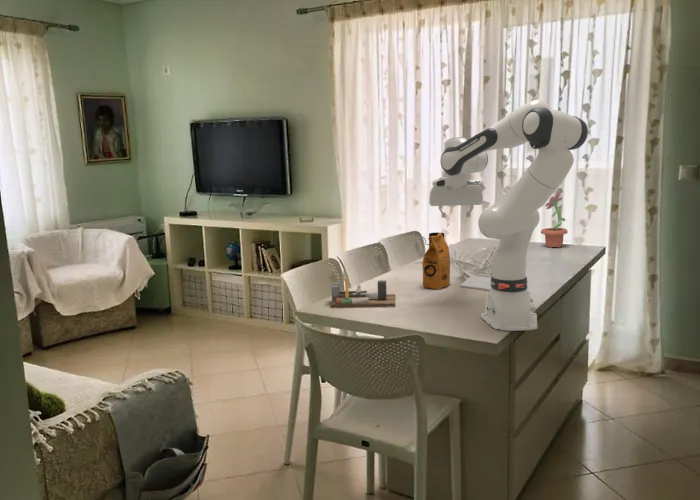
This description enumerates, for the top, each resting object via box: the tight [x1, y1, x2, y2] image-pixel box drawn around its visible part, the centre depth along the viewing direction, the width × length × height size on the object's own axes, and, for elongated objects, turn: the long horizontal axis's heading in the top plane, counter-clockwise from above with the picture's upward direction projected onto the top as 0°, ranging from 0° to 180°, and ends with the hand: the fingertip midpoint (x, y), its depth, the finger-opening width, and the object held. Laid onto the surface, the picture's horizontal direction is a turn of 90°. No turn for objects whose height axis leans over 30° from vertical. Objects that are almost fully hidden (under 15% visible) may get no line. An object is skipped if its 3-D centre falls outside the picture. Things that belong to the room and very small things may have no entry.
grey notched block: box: [352, 280, 388, 299], centre depth 232 cm, size 6×13×7 cm, turn 85°
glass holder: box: [416, 232, 446, 256], centre depth 299 cm, size 9×14×15 cm, turn 81°
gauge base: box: [330, 281, 396, 309], centre depth 234 cm, size 14×24×7 cm, turn 85°
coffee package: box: [422, 232, 451, 290], centre depth 254 cm, size 10×12×22 cm
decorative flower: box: [540, 192, 568, 248], centre depth 330 cm, size 15×14×30 cm
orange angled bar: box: [344, 277, 350, 298], centre depth 229 cm, size 3×1×8 cm, turn 175°
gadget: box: [460, 273, 492, 292], centre depth 256 cm, size 23×15×4 cm, turn 141°
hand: (455, 217), depth 234 cm, fingers open, 8 cm apart
